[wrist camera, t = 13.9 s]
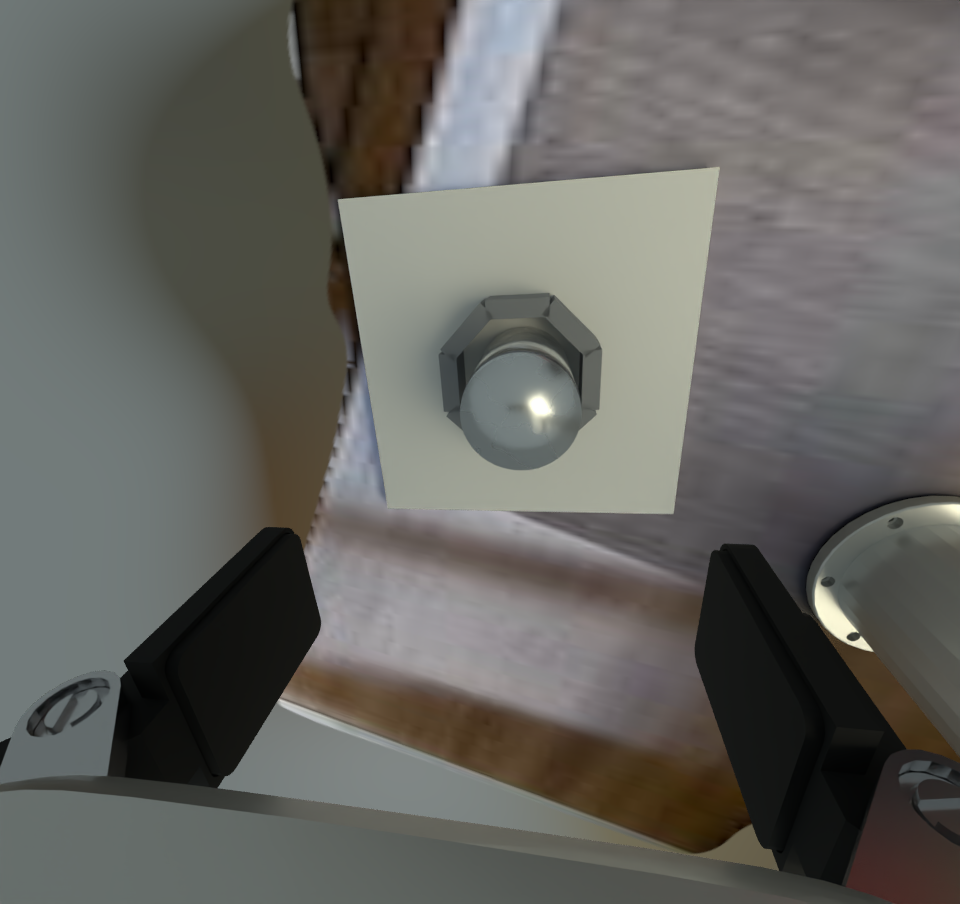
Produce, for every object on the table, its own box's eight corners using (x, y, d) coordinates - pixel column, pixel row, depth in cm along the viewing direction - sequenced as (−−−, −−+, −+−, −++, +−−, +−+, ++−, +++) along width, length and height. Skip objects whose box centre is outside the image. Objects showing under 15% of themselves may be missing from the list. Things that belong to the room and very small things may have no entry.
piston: (569, 322, 26) (582, 350, 19) (570, 413, 28) (582, 469, 21) (474, 329, 27) (452, 358, 20) (482, 417, 29) (465, 473, 22)
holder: (712, 170, 23) (739, 157, 20) (669, 506, 31) (683, 535, 28) (344, 201, 26) (317, 194, 23) (392, 501, 34) (376, 527, 31)
